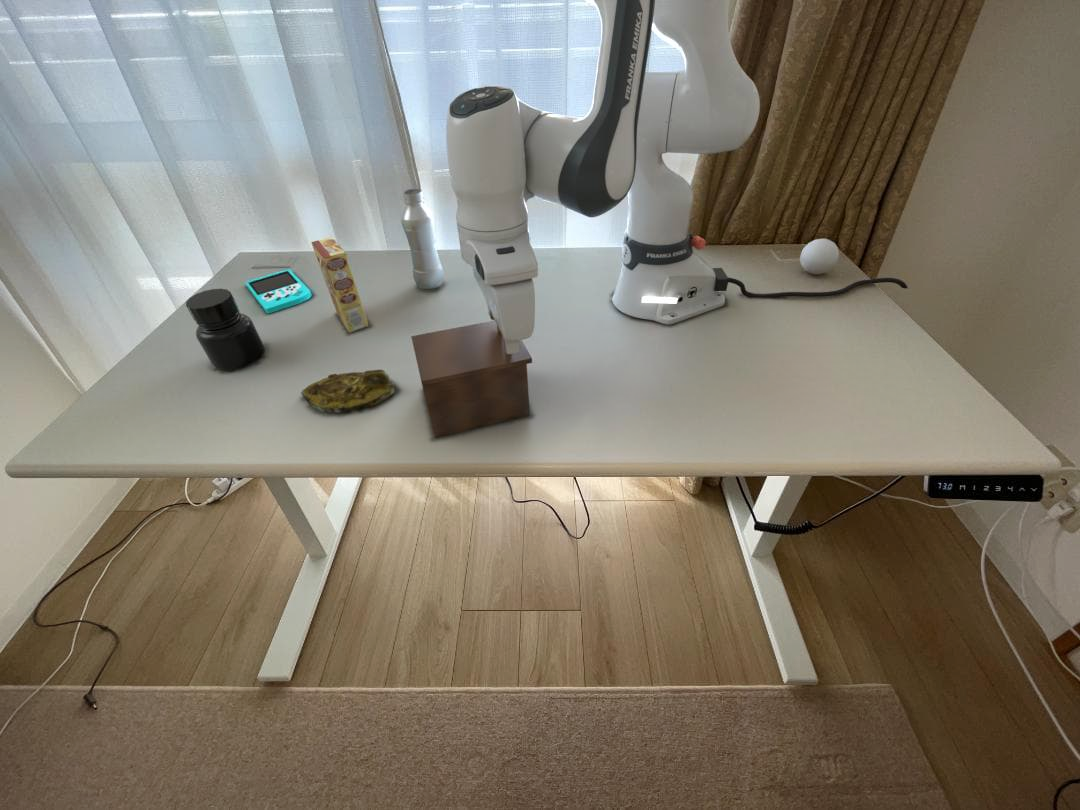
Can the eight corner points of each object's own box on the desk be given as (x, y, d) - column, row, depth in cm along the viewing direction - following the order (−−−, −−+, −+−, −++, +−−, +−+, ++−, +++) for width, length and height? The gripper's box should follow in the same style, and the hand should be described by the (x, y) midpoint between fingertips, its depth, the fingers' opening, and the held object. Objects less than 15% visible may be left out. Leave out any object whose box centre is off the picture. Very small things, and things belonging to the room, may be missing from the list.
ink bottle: (257, 337, 94) (229, 279, 86) (276, 355, 89) (248, 296, 81) (203, 358, 89) (168, 300, 81) (220, 379, 84) (184, 319, 76)
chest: (510, 372, 83) (505, 322, 77) (529, 415, 75) (526, 364, 69) (424, 390, 80) (412, 340, 74) (434, 438, 72) (422, 386, 65)
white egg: (838, 279, 104) (851, 246, 100) (803, 280, 105) (815, 247, 100) (817, 259, 112) (829, 227, 107) (785, 260, 112) (795, 228, 107)
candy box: (369, 326, 96) (347, 251, 86) (348, 333, 94) (322, 258, 84) (355, 308, 101) (333, 235, 91) (335, 314, 100) (309, 241, 89)
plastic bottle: (451, 282, 108) (436, 188, 95) (431, 296, 104) (412, 199, 91) (430, 276, 111) (412, 184, 98) (409, 288, 107) (387, 194, 94)
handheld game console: (266, 314, 100) (263, 308, 99) (245, 286, 110) (243, 281, 109) (314, 298, 105) (312, 292, 104) (290, 273, 114) (288, 267, 114)
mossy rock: (298, 422, 77) (395, 411, 78) (286, 402, 73) (387, 391, 74) (309, 380, 83) (398, 371, 84) (298, 360, 80) (392, 350, 81)
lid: (510, 321, 77) (508, 294, 74) (532, 362, 69) (530, 334, 66) (412, 340, 74) (405, 312, 71) (422, 386, 65) (415, 356, 62)
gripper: (455, 216, 69) (467, 303, 78) (488, 280, 54) (499, 378, 63) (498, 209, 70) (505, 296, 79) (542, 270, 55) (545, 368, 64)
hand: (503, 333), depth 71 cm, fingers open, 8 cm apart
